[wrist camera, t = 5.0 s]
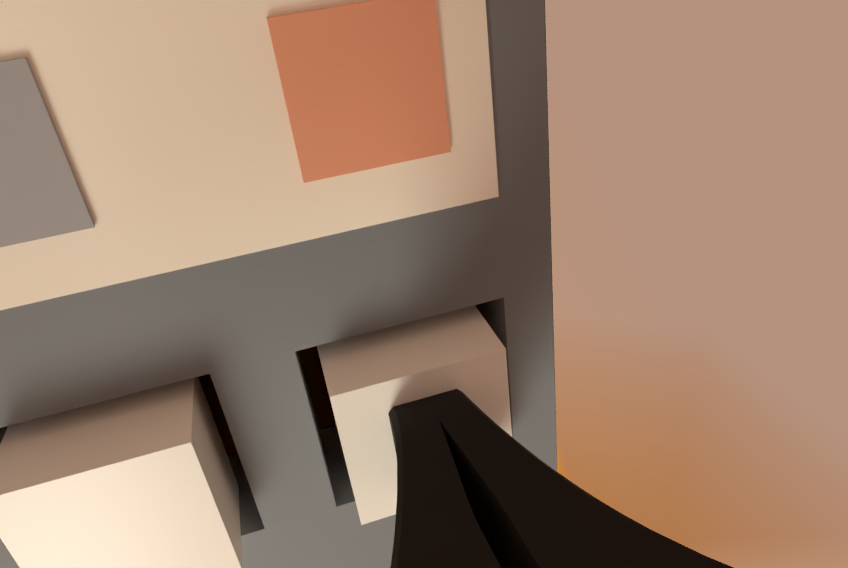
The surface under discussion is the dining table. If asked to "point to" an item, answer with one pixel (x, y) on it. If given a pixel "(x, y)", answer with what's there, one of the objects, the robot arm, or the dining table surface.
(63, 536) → the middle button
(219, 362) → the button board
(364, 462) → the button
